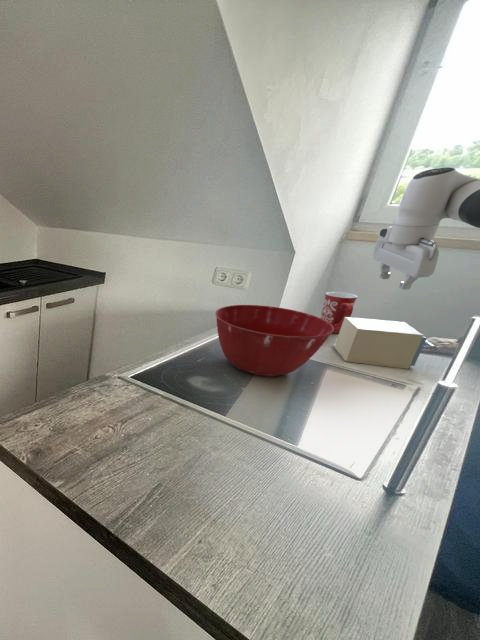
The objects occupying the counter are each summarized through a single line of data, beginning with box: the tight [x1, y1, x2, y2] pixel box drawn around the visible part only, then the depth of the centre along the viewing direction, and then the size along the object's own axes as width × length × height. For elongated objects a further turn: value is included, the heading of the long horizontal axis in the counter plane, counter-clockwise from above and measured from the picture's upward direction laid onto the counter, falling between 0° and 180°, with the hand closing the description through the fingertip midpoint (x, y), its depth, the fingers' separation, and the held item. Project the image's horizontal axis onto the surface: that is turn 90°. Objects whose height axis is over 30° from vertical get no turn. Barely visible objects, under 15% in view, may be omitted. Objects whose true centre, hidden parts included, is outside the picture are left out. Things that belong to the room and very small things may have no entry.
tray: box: [409, 335, 438, 367], centre depth 118 cm, size 18×11×9 cm, turn 65°
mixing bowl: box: [214, 304, 334, 377], centre depth 114 cm, size 28×28×16 cm
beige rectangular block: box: [334, 316, 424, 370], centre depth 119 cm, size 15×13×11 cm
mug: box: [319, 291, 359, 334], centre depth 140 cm, size 13×9×14 cm
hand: (393, 283), depth 112 cm, fingers open, 8 cm apart
